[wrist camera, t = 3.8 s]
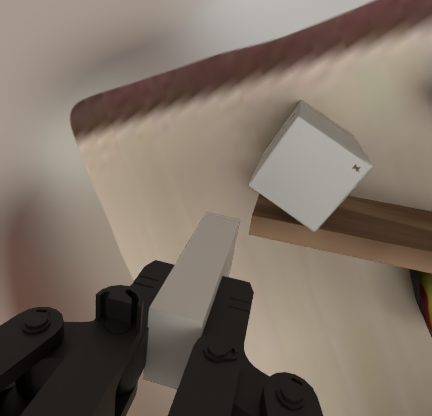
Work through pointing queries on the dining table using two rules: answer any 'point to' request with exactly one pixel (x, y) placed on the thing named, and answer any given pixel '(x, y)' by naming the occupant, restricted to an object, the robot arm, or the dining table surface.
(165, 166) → the dining table surface
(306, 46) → the dining table surface
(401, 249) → the shelf
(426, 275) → the bottle
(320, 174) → the supplement box
